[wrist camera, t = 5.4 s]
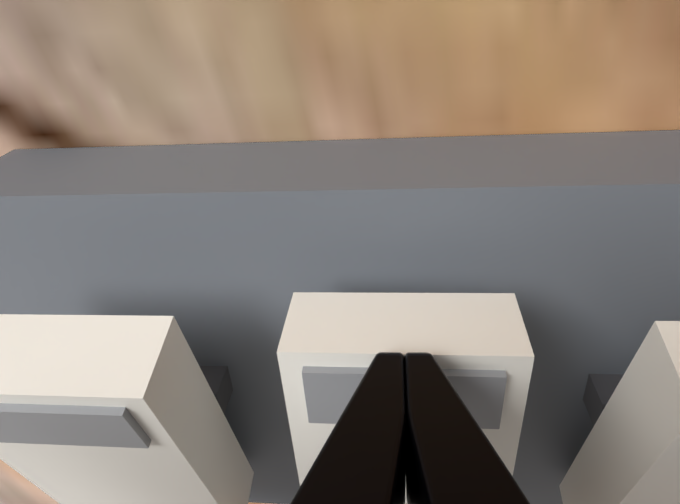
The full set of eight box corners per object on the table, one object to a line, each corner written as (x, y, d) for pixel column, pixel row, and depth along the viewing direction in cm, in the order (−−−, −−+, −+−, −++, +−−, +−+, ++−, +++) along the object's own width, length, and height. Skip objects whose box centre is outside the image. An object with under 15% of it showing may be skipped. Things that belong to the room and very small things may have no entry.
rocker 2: (482, 518, 13) (493, 594, 11) (323, 509, 13) (314, 582, 12) (514, 293, 9) (536, 363, 8) (293, 292, 10) (274, 358, 8)
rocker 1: (253, 472, 14) (240, 543, 13) (115, 466, 15) (89, 534, 13) (173, 315, 9) (138, 407, 8) (-33, 313, 10) (-95, 400, 8)
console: (718, 441, 16) (800, 568, 13) (121, 421, 19) (62, 524, 15) (863, 124, 11) (1060, 200, 8) (14, 149, 13) (-112, 216, 10)
